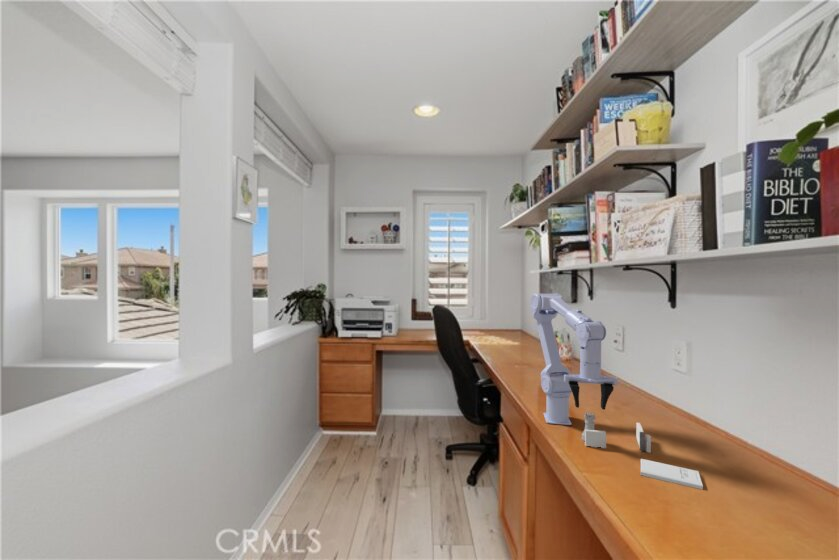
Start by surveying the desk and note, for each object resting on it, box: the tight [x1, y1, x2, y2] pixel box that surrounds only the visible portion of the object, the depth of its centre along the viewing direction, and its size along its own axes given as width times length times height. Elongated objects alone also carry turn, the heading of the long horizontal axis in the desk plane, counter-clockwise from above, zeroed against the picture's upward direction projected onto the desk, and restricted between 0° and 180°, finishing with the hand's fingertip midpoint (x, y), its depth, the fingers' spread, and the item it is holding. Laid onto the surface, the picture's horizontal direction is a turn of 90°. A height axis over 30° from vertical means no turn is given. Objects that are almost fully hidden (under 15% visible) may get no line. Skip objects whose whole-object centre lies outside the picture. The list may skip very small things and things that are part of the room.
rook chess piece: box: [581, 412, 597, 442], centre depth 114 cm, size 4×4×8 cm
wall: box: [584, 428, 652, 454], centre depth 109 cm, size 1×17×4 cm, turn 78°
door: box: [635, 422, 646, 452], centre depth 111 cm, size 1×10×5 cm, turn 156°
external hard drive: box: [640, 458, 704, 491], centre depth 94 cm, size 2×8×12 cm
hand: (589, 407), depth 114 cm, fingers open, 7 cm apart
